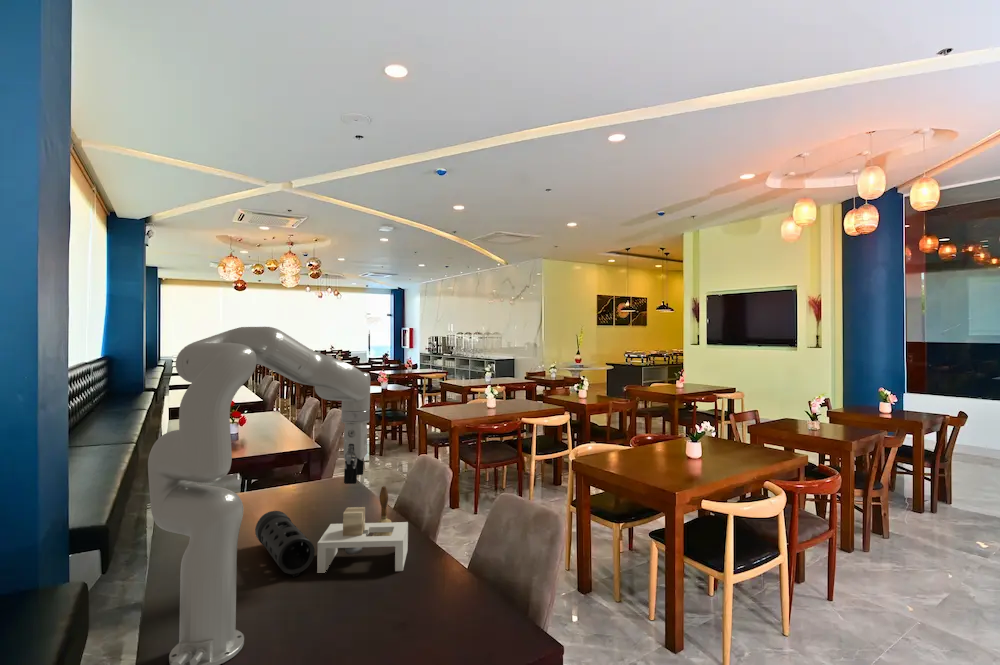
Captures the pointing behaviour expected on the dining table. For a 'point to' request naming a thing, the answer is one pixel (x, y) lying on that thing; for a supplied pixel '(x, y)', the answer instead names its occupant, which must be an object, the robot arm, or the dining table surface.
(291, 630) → the dining table surface
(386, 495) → the hand bell
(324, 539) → the keyhole stand
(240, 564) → the dining table surface
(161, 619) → the dining table surface
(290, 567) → the muzzle brake
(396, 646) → the dining table surface
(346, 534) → the peg
